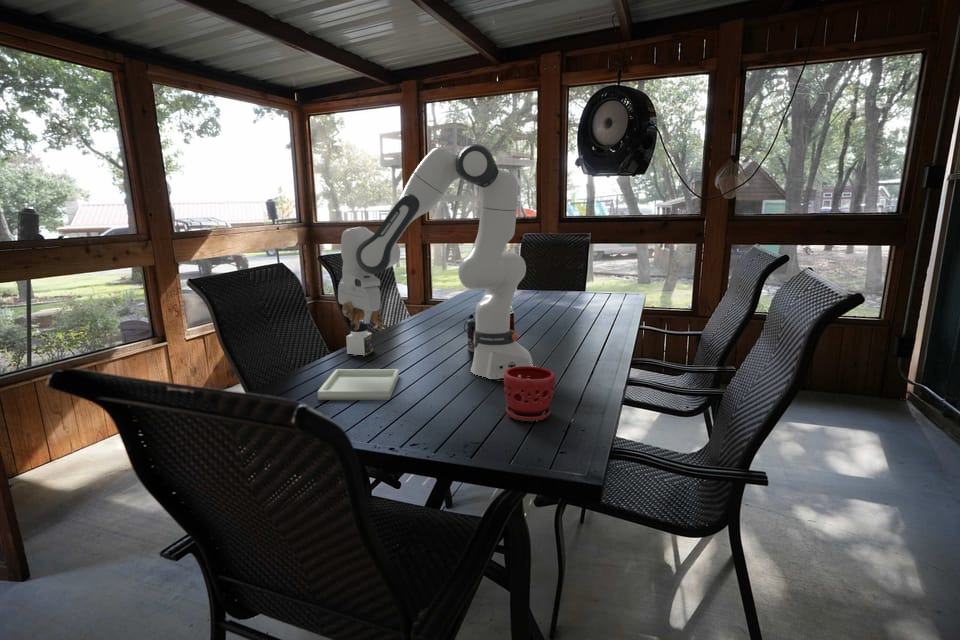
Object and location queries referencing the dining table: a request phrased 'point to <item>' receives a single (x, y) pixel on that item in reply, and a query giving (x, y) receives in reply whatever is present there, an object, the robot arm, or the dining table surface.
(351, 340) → the medicine bottle
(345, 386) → the tray
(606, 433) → the dining table surface
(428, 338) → the dining table surface
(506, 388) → the plant pot
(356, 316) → the lion figurine
